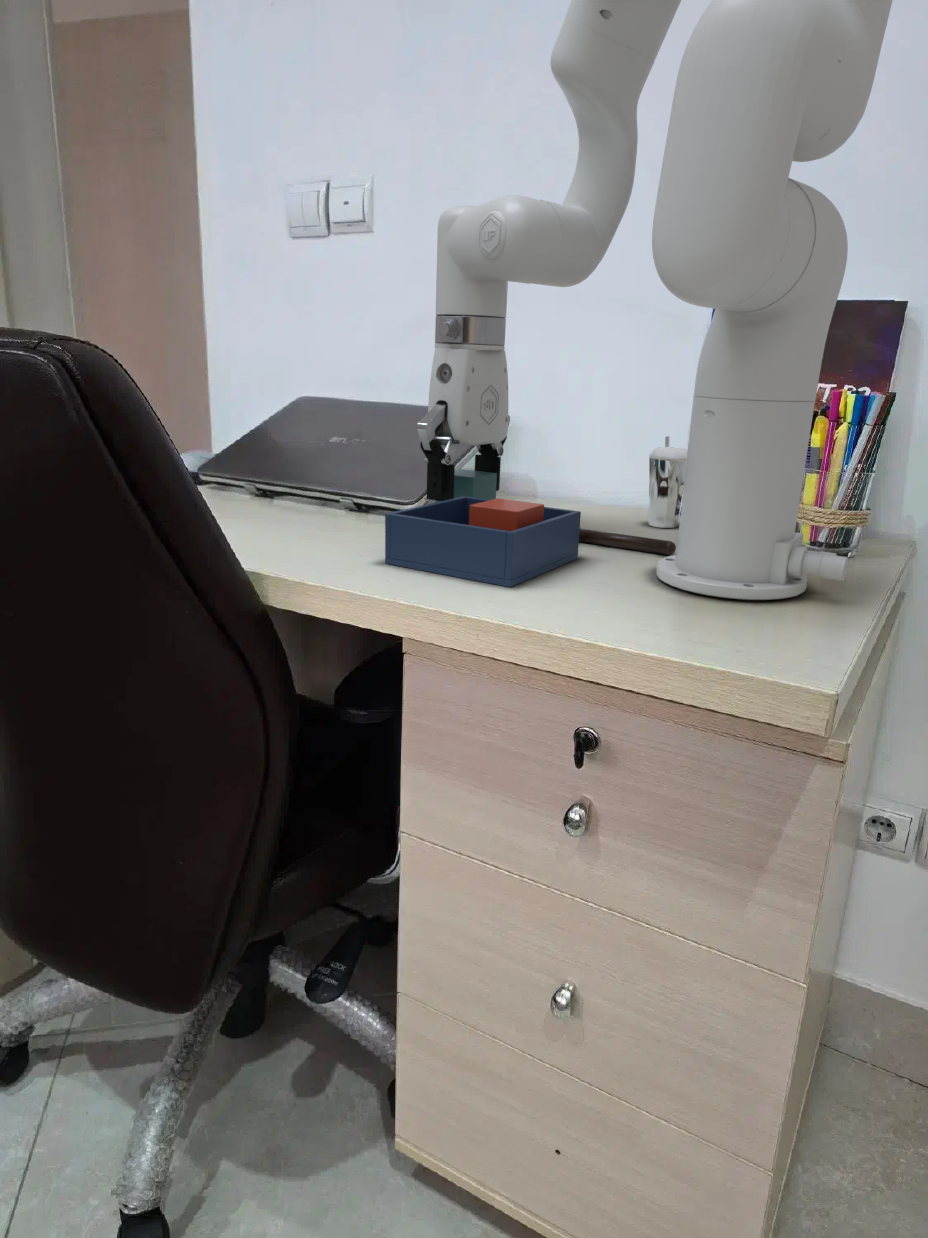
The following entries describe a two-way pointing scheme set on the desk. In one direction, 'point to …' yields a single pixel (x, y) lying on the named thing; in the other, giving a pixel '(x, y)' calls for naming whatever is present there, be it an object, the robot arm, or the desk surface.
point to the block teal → (474, 484)
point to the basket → (479, 543)
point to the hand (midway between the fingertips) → (464, 494)
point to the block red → (505, 514)
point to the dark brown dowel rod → (627, 541)
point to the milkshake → (666, 484)
